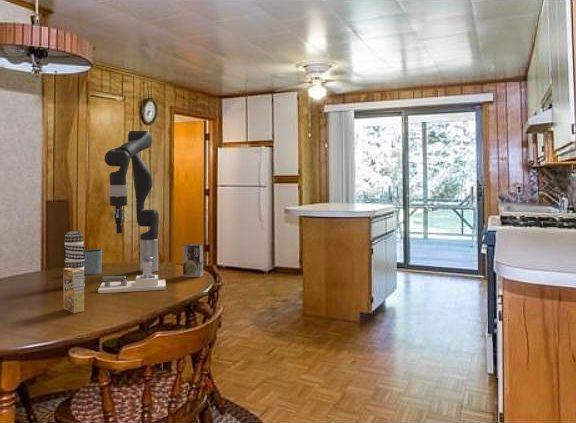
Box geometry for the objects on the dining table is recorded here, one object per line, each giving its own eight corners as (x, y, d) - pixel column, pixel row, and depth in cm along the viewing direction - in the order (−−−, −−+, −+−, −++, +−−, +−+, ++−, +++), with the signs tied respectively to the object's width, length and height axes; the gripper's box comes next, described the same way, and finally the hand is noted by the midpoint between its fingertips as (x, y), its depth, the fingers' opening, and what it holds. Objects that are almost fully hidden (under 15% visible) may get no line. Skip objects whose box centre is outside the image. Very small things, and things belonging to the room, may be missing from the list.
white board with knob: (102, 285, 211) (102, 276, 211) (165, 282, 219) (165, 273, 218) (98, 293, 197) (97, 282, 197) (165, 289, 204) (165, 279, 204)
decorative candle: (59, 287, 208) (57, 232, 206) (75, 283, 216) (73, 230, 215) (74, 289, 205) (73, 233, 203) (90, 284, 213) (89, 231, 212)
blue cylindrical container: (106, 272, 244) (106, 250, 243) (89, 275, 235) (88, 252, 234) (94, 270, 249) (94, 248, 248) (77, 273, 241) (77, 250, 240)
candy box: (62, 309, 171) (62, 268, 170) (74, 307, 174) (73, 267, 174) (73, 313, 166) (73, 271, 165) (85, 311, 169) (84, 269, 168)
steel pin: (142, 282, 212) (142, 256, 211) (154, 282, 212) (154, 256, 212) (140, 284, 206) (140, 257, 206) (152, 284, 207) (152, 257, 207)
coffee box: (203, 274, 238) (203, 244, 237) (200, 277, 232) (200, 245, 231) (186, 274, 239) (186, 243, 238) (182, 277, 233) (182, 245, 232)
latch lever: (103, 279, 206) (103, 276, 206) (125, 279, 208) (125, 275, 208) (102, 280, 202) (102, 277, 202) (125, 280, 205) (125, 277, 205)
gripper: (111, 194, 213) (112, 231, 214) (107, 195, 200) (108, 235, 202) (128, 194, 215) (129, 231, 216) (125, 195, 202) (126, 234, 203)
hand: (119, 233), depth 209 cm, fingers closed
